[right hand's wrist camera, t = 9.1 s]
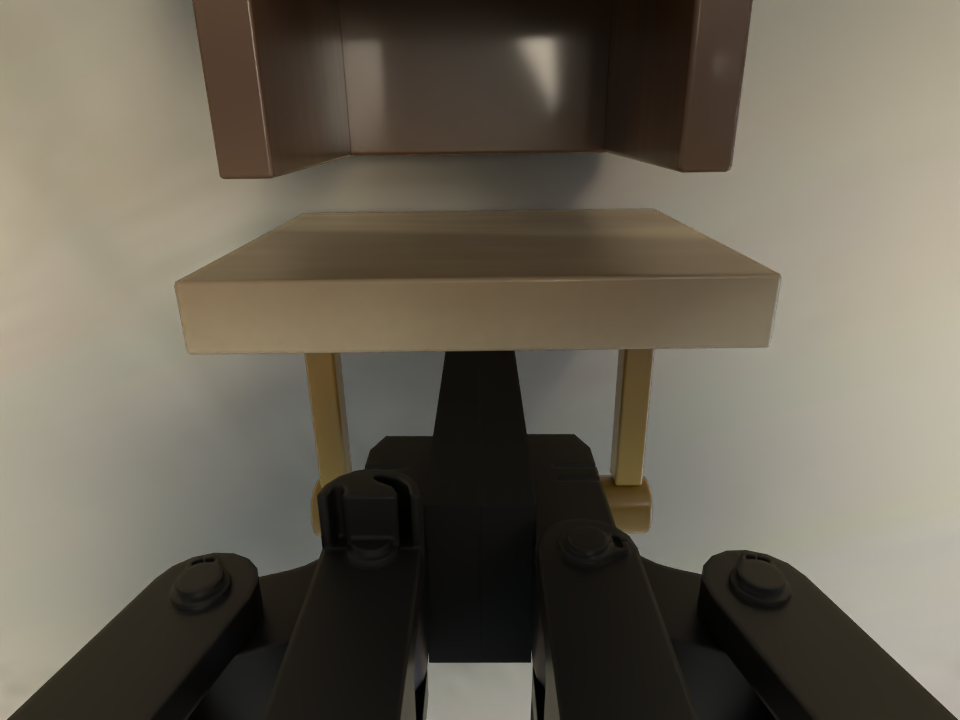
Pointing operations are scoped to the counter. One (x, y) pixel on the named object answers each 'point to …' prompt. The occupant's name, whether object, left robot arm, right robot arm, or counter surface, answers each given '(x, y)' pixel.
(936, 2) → the counter surface
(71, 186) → the counter surface
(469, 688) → the counter surface
